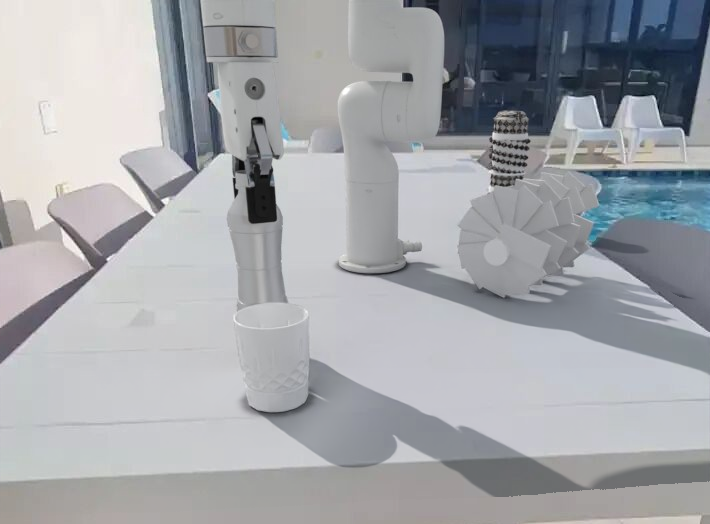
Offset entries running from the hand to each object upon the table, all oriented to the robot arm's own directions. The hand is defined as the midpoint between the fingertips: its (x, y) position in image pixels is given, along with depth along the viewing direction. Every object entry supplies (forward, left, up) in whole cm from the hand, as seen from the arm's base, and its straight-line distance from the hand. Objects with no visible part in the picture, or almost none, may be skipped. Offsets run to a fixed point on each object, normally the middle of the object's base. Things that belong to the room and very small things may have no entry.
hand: (255, 214), depth 75 cm
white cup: (+2, +13, -18) cm, 22 cm away
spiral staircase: (-48, -12, -18) cm, 53 cm away
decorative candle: (-70, -52, -18) cm, 89 cm away
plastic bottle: (0, 0, -15) cm, 15 cm away
